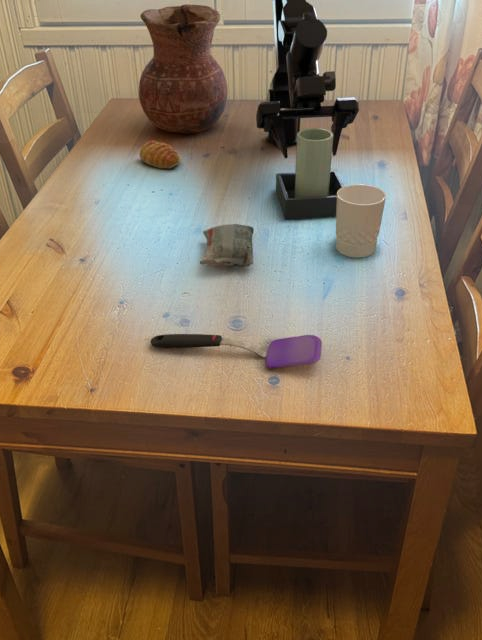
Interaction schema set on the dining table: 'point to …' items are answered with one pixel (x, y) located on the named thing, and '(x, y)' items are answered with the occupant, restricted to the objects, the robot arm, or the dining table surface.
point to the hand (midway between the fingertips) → (310, 156)
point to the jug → (182, 70)
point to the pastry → (159, 155)
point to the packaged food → (229, 246)
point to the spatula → (252, 347)
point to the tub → (306, 198)
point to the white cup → (358, 219)
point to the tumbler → (313, 162)
